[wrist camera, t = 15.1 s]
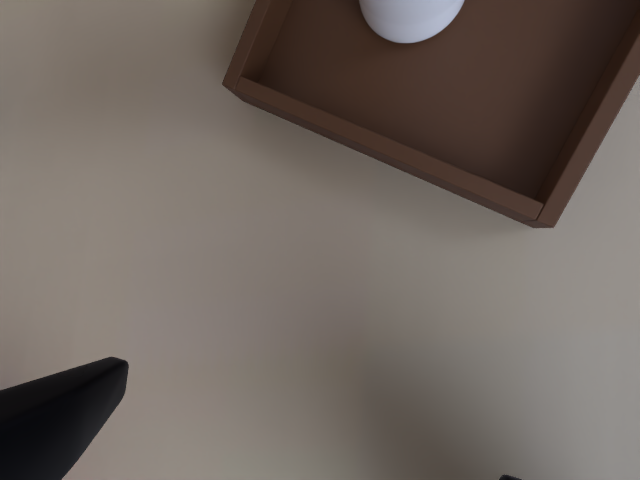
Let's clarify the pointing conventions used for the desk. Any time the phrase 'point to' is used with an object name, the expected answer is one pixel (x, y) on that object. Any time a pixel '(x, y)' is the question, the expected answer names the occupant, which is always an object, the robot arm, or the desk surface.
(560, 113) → the tray
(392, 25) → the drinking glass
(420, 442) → the desk surface
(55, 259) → the desk surface
